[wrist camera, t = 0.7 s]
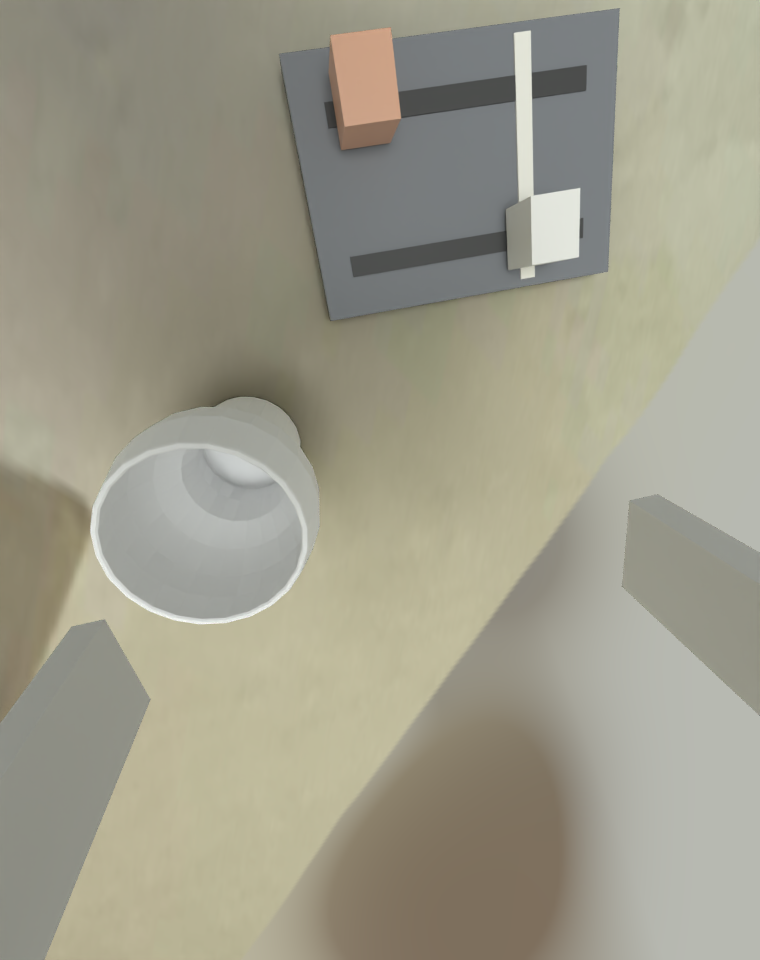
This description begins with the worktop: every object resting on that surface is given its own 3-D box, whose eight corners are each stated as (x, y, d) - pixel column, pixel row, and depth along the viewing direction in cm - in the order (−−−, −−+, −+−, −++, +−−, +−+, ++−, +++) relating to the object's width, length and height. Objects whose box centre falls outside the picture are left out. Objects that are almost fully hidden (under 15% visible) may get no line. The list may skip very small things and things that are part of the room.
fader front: (328, 72, 24) (330, 35, 21) (380, 65, 24) (390, 27, 21) (341, 150, 25) (344, 126, 22) (390, 142, 25) (401, 118, 22)
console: (281, 72, 25) (278, 52, 23) (598, 29, 27) (620, 6, 25) (330, 320, 31) (331, 321, 29) (591, 273, 32) (609, 271, 30)
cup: (258, 347, 31) (210, 376, 17) (345, 457, 35) (364, 554, 21) (147, 432, 32) (16, 526, 18) (244, 530, 36) (198, 668, 22)
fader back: (505, 209, 28) (530, 195, 24) (549, 202, 28) (580, 187, 24) (508, 270, 29) (532, 265, 26) (549, 262, 29) (578, 257, 26)
